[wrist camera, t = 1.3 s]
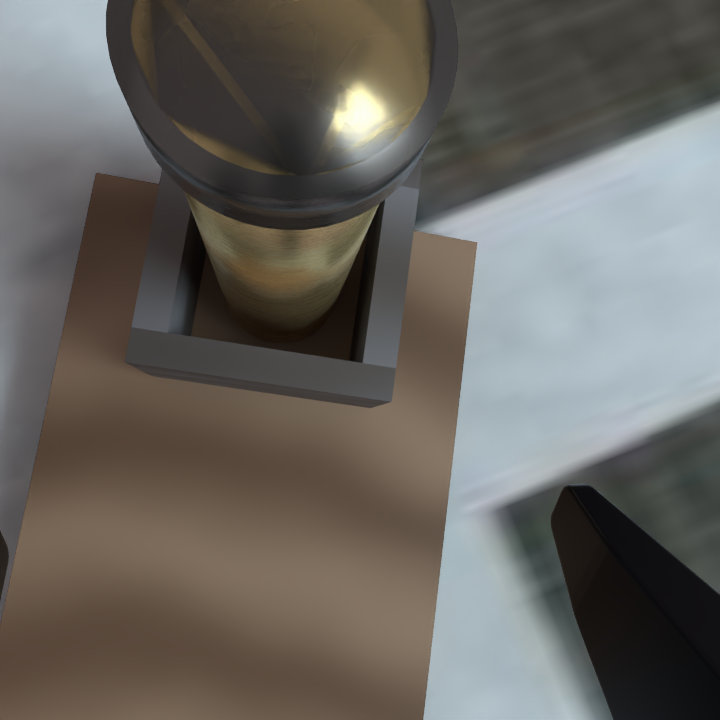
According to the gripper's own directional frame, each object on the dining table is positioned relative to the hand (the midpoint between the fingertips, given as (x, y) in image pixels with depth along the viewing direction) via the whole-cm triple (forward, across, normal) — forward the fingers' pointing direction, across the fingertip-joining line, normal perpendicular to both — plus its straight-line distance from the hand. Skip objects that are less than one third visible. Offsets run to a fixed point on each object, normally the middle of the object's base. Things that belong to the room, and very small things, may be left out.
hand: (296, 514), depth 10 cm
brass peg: (+13, 0, +4) cm, 13 cm away
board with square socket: (+9, +1, +9) cm, 13 cm away
